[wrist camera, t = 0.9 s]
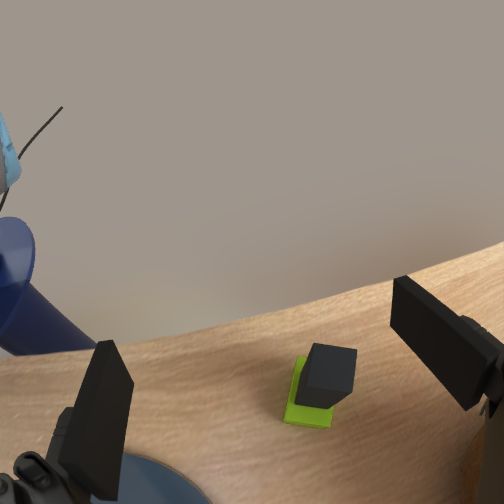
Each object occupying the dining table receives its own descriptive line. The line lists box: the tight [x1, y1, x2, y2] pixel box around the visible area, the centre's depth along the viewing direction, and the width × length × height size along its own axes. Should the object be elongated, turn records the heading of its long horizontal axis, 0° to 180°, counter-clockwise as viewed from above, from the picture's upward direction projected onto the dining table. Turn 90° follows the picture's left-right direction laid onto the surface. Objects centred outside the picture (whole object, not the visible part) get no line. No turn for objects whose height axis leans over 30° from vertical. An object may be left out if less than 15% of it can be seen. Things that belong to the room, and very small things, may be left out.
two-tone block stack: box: [283, 343, 357, 429], centre depth 23 cm, size 6×4×11 cm, turn 166°
